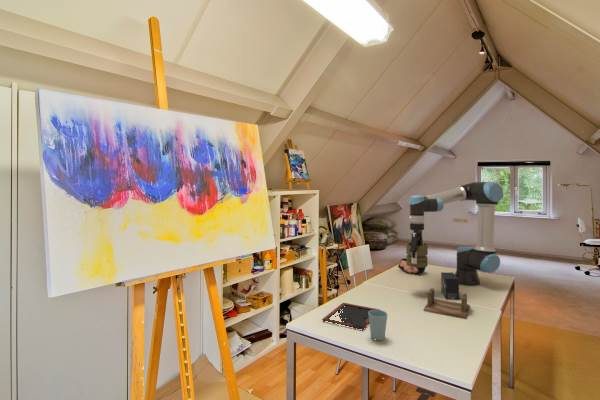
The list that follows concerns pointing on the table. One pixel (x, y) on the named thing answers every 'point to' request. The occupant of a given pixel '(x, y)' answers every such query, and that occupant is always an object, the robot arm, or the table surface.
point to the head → (410, 268)
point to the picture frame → (351, 315)
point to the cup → (377, 324)
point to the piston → (421, 256)
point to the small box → (450, 286)
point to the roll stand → (447, 306)
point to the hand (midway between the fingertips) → (416, 261)
